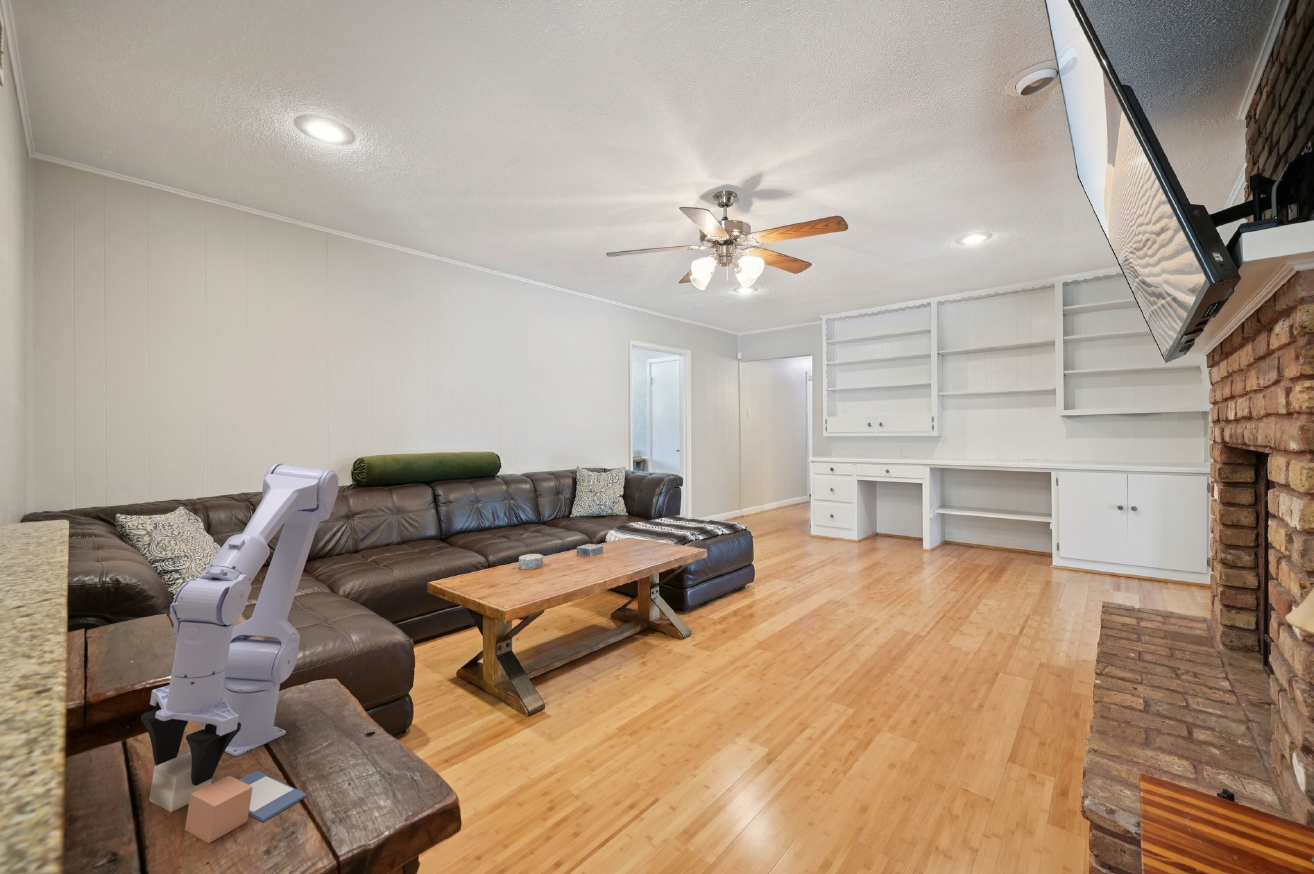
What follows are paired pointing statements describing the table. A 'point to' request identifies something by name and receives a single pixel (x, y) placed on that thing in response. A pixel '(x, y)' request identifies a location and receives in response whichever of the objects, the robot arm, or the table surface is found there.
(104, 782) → the table surface
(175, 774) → the cream block
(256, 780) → the blue flat board
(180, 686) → the robot arm
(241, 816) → the terracotta block
